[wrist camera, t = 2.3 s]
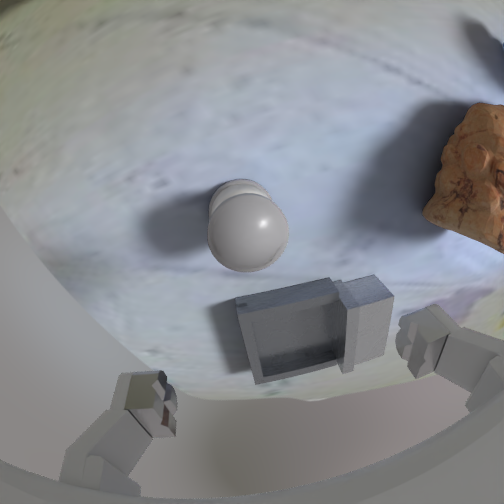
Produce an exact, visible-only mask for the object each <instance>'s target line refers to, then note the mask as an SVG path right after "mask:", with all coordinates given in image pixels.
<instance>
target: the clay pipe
mask: <svg viewBox="0 0 504 504" xmlns="http://www.w3.org/2000/svg"><path fill="white" fill-rule="evenodd" d="M441 162H442V165H443V166H442V169H441V170H440V171H439V172H438V173H437V175H436V180H435V184H434V185H435V194H434V196H433V197H432V198H431V199H430V200H429V201H428V203H427V204H426V206H425V207H424V208H423V212H422V215H423V216H424V218H425V219H426V220H427V221H429V222H431V223H433V224H435V225H437V226H439V227H442V228H444V229H448V230H452V231H454V232H457V233H459V234H462V235H464V236H467V237H469V238H472V239H474V240H477V241H479V242H481V243H483V244H485V245H488V246H490V247H492V248H493V249H495V250H497V251H499V252H501V253H503V254H504V105H491V104H485V103H477V104H474V105H472V106H471V107H470V108H469V110H468V111H467V113H466V115H465V118H464V120H463V121H462V123H461V124H459V125H458V126H457V127H456V128H455V131H454V135H452V136H451V137H450V138H449V140H448V142H447V145H446V146H444V148H443V153H442V156H441Z"/></svg>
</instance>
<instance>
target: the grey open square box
mask: <svg viewBox="0 0 504 504" xmlns="http://www.w3.org/2000/svg"><path fill="white" fill-rule="evenodd" d="M235 302H236V309H237V316H238V320H239V324H240V328H241V332H242V336H243V339H244V343H245V347H246V351H247V355H248V359H249V362H250V366H251V370H252V374H253V377H254V381H255V385H256V384H261V383H266V382H271V381H276V380H280V379H285V378H289V377H293V376H297V375H301V374H305V373H309V372H313V371H317V370H321V369H324V368H328V367H331V366H335V365H337V363H338V365H339V367H340V370H341V372H342V374H344V373H348V372H351V371H353V368H354V365H356V364H359V363H362V362H365V361H368V360H371V359H374V358H377V357H379V356H382V355H384V351H385V346H386V341H387V336H388V331H389V326H390V320H391V314H392V308H393V302H394V295H393V294H392V293H391V292H390V291H389V290H388V289H387V288H386V286H385V285H384V284H383V283H382V282H381V281H380V280H379V279H378V278H377V277H376V276H375V275H372V276H368V277H364V278H360V279H356V280H353V281H349V282H345V283H343V282H342V281H341V280H339V281H335V282H332V280H331V279H330V278H325V279H321V280H317V281H312V282H308V283H304V284H299V285H295V286H290V287H286V288H281V289H277V290H272V291H267V292H262V293H258V294H253V295H248V296H243V297H238V298H235Z"/></svg>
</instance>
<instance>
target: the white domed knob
mask: <svg viewBox="0 0 504 504" xmlns="http://www.w3.org/2000/svg"><path fill="white" fill-rule="evenodd" d="M209 219H210V220H209V224H208V234H207V235H208V245H209V248H210V250H211V252H212V254H213V256H214V257H215V258H216V259H217V261H218V262H220V263H221V264H222V265H224V266H225V267H227V268H229V269H231V270H234V271H238V272H255V271H259V270H262V269H264V268H266V267H268V266H270V265H271V264H273V263H274V262H275V261H276V260H277V259H278V258H279V257H280V256H281V255H282V253H283V252H284V250H285V248H286V246H287V243H288V238H289V227H288V223H287V220H286V218H285V216H284V214H283V212H282V211H281V210H280V208H279V207H278V206H277V205H276V204H275V203H274V202H273V201H272V199H271V197H270V195H269V194H268V192H267V191H266V190H265V189H264V188H263V187H262V186H261V185H260V184H258V183H257V182H254V181H252V180H248V179H235V180H231V181H229V182H226V183H225V184H223V185H222V186H220V187H219V188H218V189H217V190H216V191H215V193H214V194H213V196H212V198H211V201H210V205H209Z"/></svg>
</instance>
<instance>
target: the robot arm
mask: <svg viewBox="0 0 504 504" xmlns="http://www.w3.org/2000/svg"><path fill="white" fill-rule="evenodd" d="M399 326H400V328H401V329H400V330H399V332H398V333H397V335H396V341H395V342H396V349H397V351H398V353H399V355H400V356H401V358H402V359H405V360H407V361H408V366H407V367H408V368H409V370H410V371H411V373H412V374H413V376H414V377H415V379H417V378H420V377H422V376H424V375H427V374H429V373H431V372H433V371H435V373H437V374H438V375H440V376H442V377H444V378H446V379H448V380H449V381H451V382H453V383H455V384H456V385H458V386H460V387H462V388H464V389H466V390H467V391H469V392H471V395H470V396H469V398H468V399H467V401H466V404H465V406H466V408H467V409H468V411H469V412H470V414H468V415H467V416H465V417H464V418H462V419H461V420H459V421H458V422H456V423H454V424H453V425H451V426H449V427H448V428H446V429H444V430H443V431H441V432H439V433H437V434H436V435H434V436H432V437H430V438H429V439H426V440H424V441H422V442H421V443H419V444H417V445H415V446H413V447H410V448H408V449H406V450H404V451H402V452H400V453H398V454H395V455H393V456H391V457H389V458H386V459H384V460H381V461H379V462H376V463H374V464H371V465H369V466H366V467H363V468H361V469H358V470H355V471H352V472H349V473H346V474H343V475H340V476H336V477H333V478H330V479H326V480H322V481H319V482H315V483H311V484H307V485H303V486H298V487H294V488H289V489H284V490H278V491H273V492H267V493H260V494H253V495H244V496H235V497H223V498H203V499H172V498H153V497H141V496H140V493H141V486H140V485H139V484H138V483H137V482H135V481H134V480H132V479H131V478H129V477H128V475H129V474H130V472H131V471H132V470H133V468H134V467H135V465H136V464H137V462H138V461H139V459H140V458H141V456H142V455H143V453H144V452H145V450H146V449H147V447H148V446H149V445H150V443H151V442H152V440H153V439H152V438H163V437H175V436H176V420H175V418H174V417H173V415H174V414H175V412H176V411H177V396H176V393H175V390H174V388H173V387H172V385H170V384H168V383H167V376H166V375H165V373H164V371H161V370H159V371H145V372H130V373H121V374H120V375H119V377H118V381H117V384H116V388H115V392H114V395H113V399H112V403H111V407H110V410H106V411H105V412H104V413H103V414H102V415H101V416H100V417H99V418H98V419H97V420H96V421H95V422H94V423H93V424H92V425H91V426H90V427H89V428H88V429H87V430H86V431H85V432H84V433H83V434H82V435H81V436H80V437H79V438H78V439H77V440H76V441H75V442H74V443H73V444H72V445H71V446H70V447H69V448H68V449H67V450H66V453H65V456H64V460H63V464H62V469H61V473H60V477H59V481H57V480H53V479H50V478H47V477H44V476H41V475H38V474H35V473H32V472H29V471H26V470H24V469H21V468H19V467H16V466H13V465H11V464H9V463H6V462H4V461H2V460H0V504H504V341H503V340H500V339H497V338H494V337H492V336H489V335H486V334H483V333H480V332H477V331H474V330H471V329H468V328H465V327H463V328H460V327H459V325H458V324H457V323H456V322H455V321H454V320H453V319H452V318H451V317H450V316H449V315H448V314H447V313H446V312H445V311H444V310H443V309H442V308H441V307H440V306H439V305H437V304H432V305H430V306H427V307H425V308H422V309H419V310H417V311H414V312H412V313H409V314H406V315H404V316H402V317H401V318H400V320H399Z"/></svg>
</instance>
